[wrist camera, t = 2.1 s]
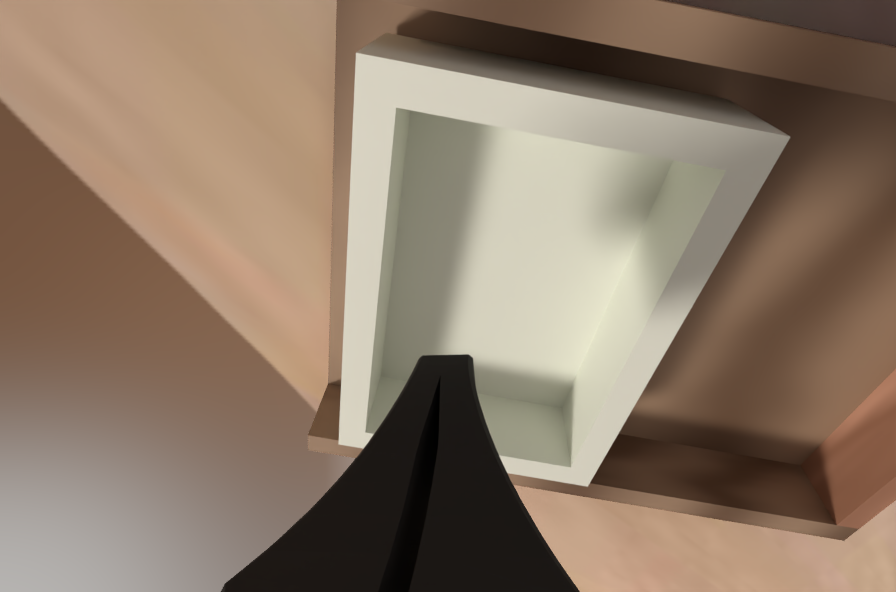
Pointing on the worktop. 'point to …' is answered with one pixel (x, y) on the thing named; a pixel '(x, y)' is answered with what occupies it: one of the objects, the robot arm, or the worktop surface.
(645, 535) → the worktop surface
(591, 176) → the crate
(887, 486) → the bay
